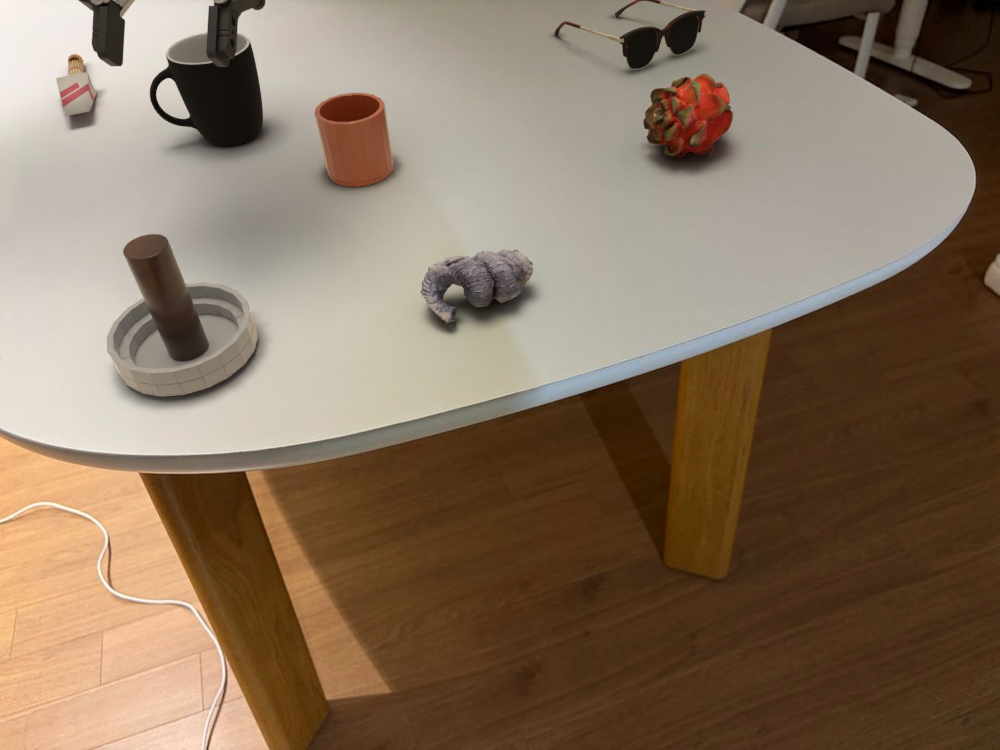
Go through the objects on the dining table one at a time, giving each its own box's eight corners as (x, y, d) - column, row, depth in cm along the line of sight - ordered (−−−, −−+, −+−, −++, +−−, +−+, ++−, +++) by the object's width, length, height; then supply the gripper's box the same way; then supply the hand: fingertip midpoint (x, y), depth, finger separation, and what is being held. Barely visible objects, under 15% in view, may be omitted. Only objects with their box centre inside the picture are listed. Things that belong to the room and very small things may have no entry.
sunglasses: (621, 76, 99) (622, 35, 96) (546, 45, 110) (544, 7, 107) (703, 48, 104) (707, 7, 101) (624, 20, 115) (624, -17, 112)
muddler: (164, 363, 64) (117, 260, 57) (174, 336, 66) (129, 235, 59) (204, 360, 64) (162, 257, 57) (212, 334, 66) (172, 232, 59)
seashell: (431, 335, 68) (533, 298, 71) (445, 318, 62) (554, 279, 66) (407, 278, 68) (509, 244, 71) (418, 256, 63) (528, 220, 66)
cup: (325, 189, 83) (310, 126, 78) (331, 155, 88) (318, 94, 84) (392, 184, 83) (382, 121, 78) (394, 151, 88) (385, 90, 84)
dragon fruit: (647, 186, 84) (697, 153, 91) (717, 157, 77) (765, 125, 85) (614, 109, 82) (668, 83, 90) (683, 73, 76) (735, 48, 83)
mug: (267, 110, 97) (244, 25, 90) (278, 142, 91) (255, 54, 84) (165, 130, 95) (134, 44, 88) (170, 165, 89) (136, 75, 82)
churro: (54, 105, 94) (57, 52, 108) (64, 127, 96) (65, 73, 110) (89, 98, 95) (87, 47, 109) (98, 120, 96) (95, 67, 111)
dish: (103, 405, 62) (87, 377, 59) (141, 315, 69) (129, 287, 67) (246, 395, 62) (235, 367, 60) (268, 305, 70) (259, 278, 67)
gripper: (52, -186, 57) (40, 41, 56) (244, -194, 55) (231, 40, 55) (115, -119, 64) (104, 82, 64) (286, -124, 62) (275, 82, 62)
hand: (163, 62), depth 59 cm, fingers open, 8 cm apart
